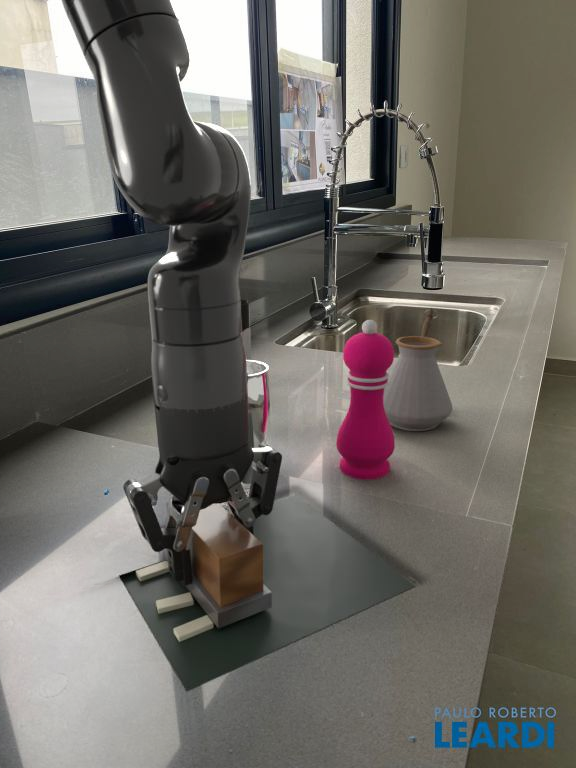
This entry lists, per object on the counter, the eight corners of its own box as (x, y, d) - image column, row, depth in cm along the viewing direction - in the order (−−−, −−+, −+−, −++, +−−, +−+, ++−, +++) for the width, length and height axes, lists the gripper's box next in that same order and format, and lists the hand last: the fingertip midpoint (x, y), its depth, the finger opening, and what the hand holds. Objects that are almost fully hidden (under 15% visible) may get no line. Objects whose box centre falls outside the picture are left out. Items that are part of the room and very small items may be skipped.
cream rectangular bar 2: (158, 614, 51) (158, 609, 50) (156, 605, 52) (155, 600, 51) (193, 605, 52) (193, 600, 51) (190, 596, 53) (190, 591, 53)
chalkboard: (186, 702, 43) (186, 691, 43) (106, 561, 59) (105, 553, 59) (415, 595, 54) (416, 586, 54) (295, 501, 70) (295, 493, 70)
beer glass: (207, 494, 72) (201, 374, 67) (227, 468, 78) (222, 357, 74) (263, 501, 70) (261, 378, 66) (278, 474, 77) (277, 361, 72)
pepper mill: (396, 465, 79) (404, 315, 73) (389, 491, 72) (397, 328, 66) (341, 459, 81) (344, 312, 75) (330, 484, 74) (332, 325, 68)
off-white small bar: (179, 642, 47) (178, 637, 47) (173, 633, 48) (173, 628, 48) (213, 627, 49) (213, 622, 49) (207, 619, 50) (207, 614, 50)
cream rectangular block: (140, 581, 55) (139, 577, 55) (135, 575, 56) (135, 570, 55) (171, 571, 56) (171, 566, 56) (166, 564, 57) (166, 560, 57)
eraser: (218, 629, 48) (215, 563, 46) (162, 557, 58) (159, 500, 56) (272, 607, 51) (271, 544, 49) (210, 542, 60) (208, 487, 59)
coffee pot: (446, 440, 86) (455, 338, 82) (368, 430, 90) (371, 332, 85) (459, 394, 105) (467, 309, 101) (394, 387, 109) (398, 305, 104)
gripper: (255, 364, 55) (261, 526, 61) (98, 394, 48) (120, 575, 53) (301, 385, 49) (303, 563, 54) (128, 423, 42) (150, 624, 47)
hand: (212, 568), depth 54 cm, fingers closed on eraser, 5 cm apart
